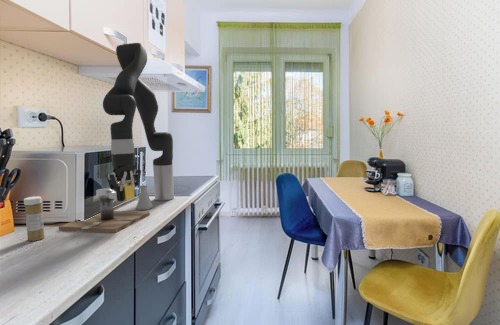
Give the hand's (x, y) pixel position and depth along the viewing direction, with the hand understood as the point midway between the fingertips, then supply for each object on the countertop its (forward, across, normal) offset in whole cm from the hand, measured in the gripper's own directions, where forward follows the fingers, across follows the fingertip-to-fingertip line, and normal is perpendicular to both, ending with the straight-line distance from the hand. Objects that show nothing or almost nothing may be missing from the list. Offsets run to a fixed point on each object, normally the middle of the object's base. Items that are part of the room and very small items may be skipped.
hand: (126, 199), depth 109 cm
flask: (+10, -21, -12) cm, 26 cm away
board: (+9, 0, -10) cm, 14 cm away
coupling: (0, 0, -6) cm, 6 cm away
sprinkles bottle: (+9, +22, -16) cm, 29 cm away
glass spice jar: (+8, 0, -10) cm, 13 cm away
